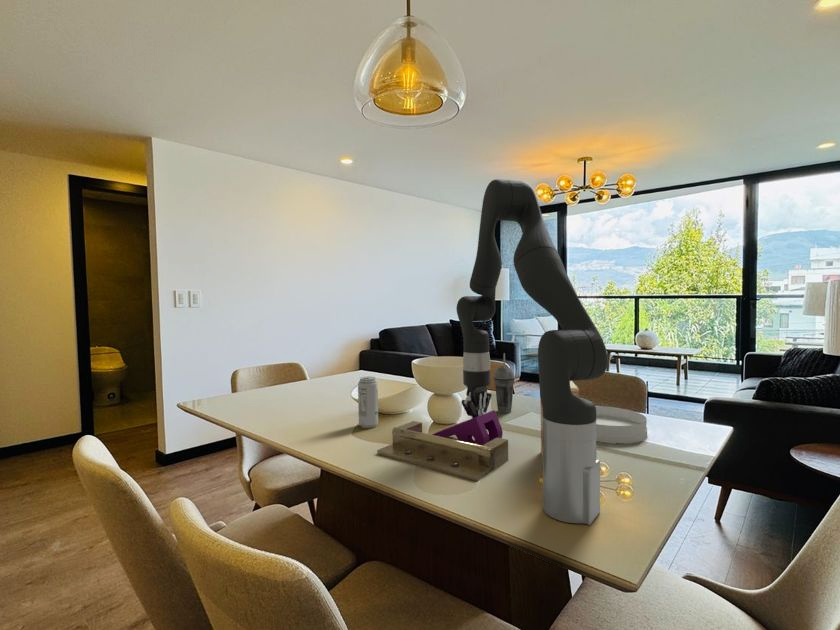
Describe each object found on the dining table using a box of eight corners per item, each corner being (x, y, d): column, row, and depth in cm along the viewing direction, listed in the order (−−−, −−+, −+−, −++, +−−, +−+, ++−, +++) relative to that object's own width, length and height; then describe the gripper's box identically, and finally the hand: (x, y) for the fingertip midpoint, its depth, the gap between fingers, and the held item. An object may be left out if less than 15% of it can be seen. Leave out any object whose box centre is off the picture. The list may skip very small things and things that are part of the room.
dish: (565, 440, 121) (565, 422, 121) (564, 419, 142) (564, 403, 142) (655, 447, 114) (655, 428, 114) (640, 424, 135) (640, 408, 135)
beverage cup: (492, 413, 150) (491, 354, 149) (495, 408, 156) (494, 352, 156) (514, 414, 147) (513, 355, 147) (516, 409, 154) (515, 352, 154)
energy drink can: (380, 427, 136) (379, 378, 135) (361, 429, 134) (360, 380, 133) (375, 422, 141) (374, 375, 141) (356, 424, 139) (355, 377, 139)
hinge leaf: (508, 460, 106) (508, 438, 106) (476, 481, 94) (476, 457, 94) (413, 438, 124) (413, 420, 124) (377, 454, 112) (376, 433, 112)
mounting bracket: (436, 467, 118) (489, 450, 108) (425, 437, 120) (475, 417, 110) (456, 457, 126) (507, 440, 115) (445, 428, 128) (494, 409, 117)
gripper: (476, 372, 115) (477, 438, 115) (500, 365, 125) (500, 426, 126) (452, 370, 119) (453, 433, 120) (477, 363, 130) (477, 422, 130)
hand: (477, 429), depth 123 cm, fingers closed
